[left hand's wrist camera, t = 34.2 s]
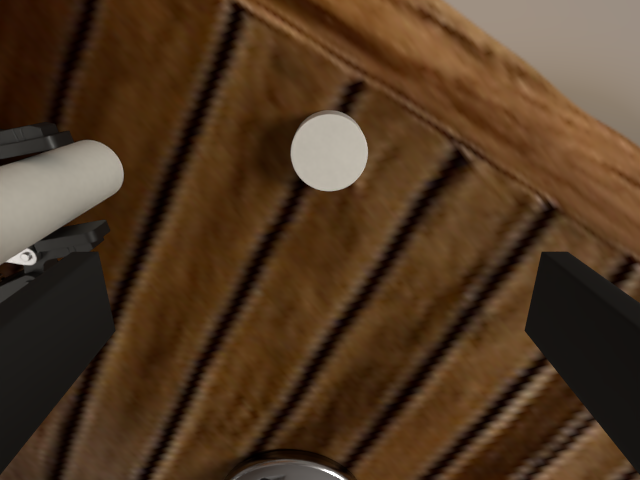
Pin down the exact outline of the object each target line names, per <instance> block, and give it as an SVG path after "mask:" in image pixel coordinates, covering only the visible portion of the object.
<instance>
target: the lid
mask: <svg viewBox="0 0 640 480" xmlns="http://www.w3.org/2000/svg"><path fill="white" fill-rule="evenodd" d="M367 156H368V148H367V143H366V140H365V137H364V135H363V133H362V131H361V129H360V127H359V126H358V124H357V123H356V122H355V121H354V120H353V119H352V118H351V117H349V116H348V115H346V114H344V113H342V112H338V111H333V110H325V111H320V112H317V113H314V114H312V115H311V116H309V117H308V118H306V119H305V120H304V121H303V122H302V123H301V125H300V126H299V128H298V129H297V131H296V134H295V136H294V139H293V141H292V145H291V161H292V164H293V167H294V169H295V171H296V173H297V175H298V176H299V177H300V178H301V179H302V180H303V181H304V182H305V183H306V184H307V185H309V186H311V187H313V188H315V189H318V190H322V191H336V190H340V189H343V188H345V187H347V186H349V185H351V184H352V183H353V182H354V181H356V180H357V179H358V177H359V176H360V175H361V173H362V172H363V170H364V168H365V165H366V162H367Z"/></svg>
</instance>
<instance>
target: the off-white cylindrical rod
mask: <svg viewBox="0 0 640 480" xmlns="http://www.w3.org/2000/svg"><path fill="white" fill-rule="evenodd" d="M123 178H124V173H123V167H122V164H121V162H120V160H119V158H118V157H117V155H116V154H115V153H114V152H113V151H112V150H111V149H110V148H109V147H107V146H106V145H104V144H102V143H100V142H97V141H92V140H82V141H78V142H75V143H72V144H69V145H66V146H63V147H60V148H57V149H53V150H50V151H47V152H44V153H41V154H38V155H35V156H32V157H29V158H25V159H22V160H19V161H16V162H13V163H10V164H7V165H4V166H0V265H1V264H2V263H4V262H6V261H7V260H9V259H10V258H12V257H14V256H15V255H17V254H19V253H20V252H22V251H23V250H25V249H27V248H28V247H30V246H31V245H33V244H35V243H36V242H38V241H39V240H41V239H43V238H44V237H46V236H47V235H49V234H51V233H52V232H54V231H55V230H57V229H59V228H60V227H62V226H63V225H65V224H67V223H68V222H70V221H72V220H73V219H75V218H76V217H78V216H80V215H81V214H83V213H84V212H86V211H88V210H89V209H91V208H92V207H94V206H96V205H97V204H99V203H100V202H102V201H104V200H105V199H107V198H108V197H110V196H112V195H113V194H115V193H116V192H117V191H118V190H119V189H120V187H121V185H122V182H123Z"/></svg>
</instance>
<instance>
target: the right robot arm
mask: <svg viewBox="0 0 640 480" xmlns="http://www.w3.org/2000/svg"><path fill="white" fill-rule="evenodd" d="M71 143H74V141H73V139H72V136H71V134H70V131H64V132H58V129H57V127H56V124H53V123H48V122H43V123H38V124H33V125H28V126H23V127H18V128H13V129H8V130H3V129H0V159H4V158H10V157H15V156H20V155H25V154H30V153H35V152H40V151H46V150H50V149H55V148H58V147H62V146H65V145H68V144H71ZM109 231H110V229H109V226H108V224H107V221H106V220H100V221H94V222H89V223H83V224H77V225H72V226H66V227H61V228H59V229H57V230H55V231H54V232H52V233H51V234H49V235H47V236H46V237H44V238H43V239H41V240H39V241H38V242H36V243H35V244H33V245H31V246H30V247H28V248H27V249H25V250H23V251H22V252H20V253H19V254H17V255H15V256H14V257H12V258H10V259H9V260H7V261H6V262H9V263H15V264H21V265H24V270H22V271H20V272H17V273H15V274H13V275H11V276H8V277H6V278H5V276H4V275H3V274H1V273H0V303H1V302H3V301H4V300H6V299H7V298H8V297H10V296H11V295H13V294H14V293H15V292H17V291H18V290H20V289H21V288H22V287H24V286H25V285H27V284H28V283H29V282H31V281H32V280H34V279H35V278H36V277H38V276H39V275H41V274H42V273H43V272H45V271H46V270H48V269H49V268H50V267H52V266H53V265H55V264H56V263H57V262H59V261H58V260H57V258H61V257H66V256H67V255H69V254H70V253H71V252H89V251H90V250H92V249H93V248H95V247H96V246H97V245H98V244H100V243H101V242H102V241H103V240H104V238H103V236H104V235H106V234H107V233H108V232H109Z"/></svg>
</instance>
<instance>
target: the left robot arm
mask: <svg viewBox="0 0 640 480" xmlns="http://www.w3.org/2000/svg"><path fill="white" fill-rule="evenodd" d="M114 332H115V327H114V322H113V317H112V313H111V308H110V304H109V299H108V294H107V290H106V285H105V281H104V276H103V271H102V267H101V262H100V258H99V253H98V252H71V253H70V254H69V255H67V256H66V257H64V258H63V259H62V260H60V261H59V262H57V263H56V264H55V265H53V266H52V267H50V268H49V269H48V270H46V271H45V272H43V273H42V274H41V275H39V276H38V277H36V278H35V279H34V280H32V281H31V282H29V283H28V284H27V285H25V286H24V287H22V288H21V289H20V290H18V291H17V292H15V293H14V294H13V295H11V296H10V297H8V298H7V299H6V300H4V301H3V302H1V303H0V474H1V473H2V472H3V471H4V469H5V468H6V467H7V466H8V464H9V463H10V462H11V461H12V459H13V458H14V457H15V456H16V454H17V453H18V452H19V451H20V449H21V448H22V447H23V446H24V444H25V443H26V442H27V441H28V439H29V438H30V437H31V436H32V434H33V433H34V432H35V431H36V429H37V428H38V427H39V426H40V424H41V423H42V422H43V421H44V419H45V418H46V417H47V416H48V414H49V413H50V412H51V411H52V409H53V408H54V407H55V406H56V404H57V403H58V402H59V401H60V399H61V398H62V397H63V396H64V394H65V393H66V392H67V391H68V389H69V388H70V387H71V386H72V384H73V383H74V382H75V381H76V379H77V378H78V377H79V376H80V374H81V373H82V372H83V371H84V369H85V368H86V367H87V366H88V364H89V363H90V362H91V361H92V359H93V358H94V357H95V356H96V354H97V353H98V352H99V351H100V349H101V348H102V347H103V346H104V344H105V343H106V342H107V341H108V339H109V338H110V337H111V336H112V334H113V333H114ZM525 332H526V333H527V334H528V336H529V337H530V338H531V339H532V341H533V342H534V343H535V344H536V346H537V347H538V348H539V349H540V351H541V352H542V353H543V354H544V356H545V357H546V358H547V359H548V361H549V362H550V363H551V364H552V366H553V367H554V368H555V369H556V371H557V372H558V373H559V374H560V376H561V377H562V378H563V379H564V381H565V382H566V383H567V384H568V386H569V387H570V388H571V389H572V391H573V392H574V393H575V394H576V396H577V397H578V398H579V399H580V401H581V402H582V403H583V404H584V406H585V407H586V408H587V409H588V411H589V412H590V413H591V414H592V416H593V417H594V418H595V419H596V421H597V422H598V423H599V424H600V426H601V427H602V428H603V429H604V431H605V432H606V433H607V434H608V436H609V437H610V438H611V439H612V441H613V442H614V443H615V444H616V446H617V447H618V448H619V449H620V451H621V452H622V453H623V454H624V456H625V457H626V458H627V459H628V461H629V462H630V463H631V464H632V466H633V467H634V468H635V469H636V471H637V472H638V473H639V474H640V303H639V302H637V301H636V300H634V299H633V298H632V297H630V296H629V295H627V294H626V293H625V292H623V291H622V290H620V289H619V288H618V287H616V286H615V285H613V284H612V283H611V282H609V281H608V280H606V279H605V278H604V277H602V276H601V275H599V274H598V273H597V272H595V271H594V270H592V269H591V268H590V267H588V266H587V265H585V264H584V263H583V262H581V261H580V260H578V259H577V258H576V257H574V256H573V255H571V254H570V253H569V252H542V253H541V258H540V262H539V267H538V271H537V276H536V281H535V285H534V290H533V294H532V299H531V304H530V308H529V313H528V317H527V322H526V327H525ZM225 480H357V479H356V478H355V477H354V476H353V474H352V473H351V472H350V471H348V470H347V469H346V468H345V467H343V466H342V465H340V464H339V463H337V462H335V461H333V460H331V459H329V458H327V457H324V456H321V455H318V454H314V453H310V452H304V451H290V450H285V451H274V452H268V453H264V454H260V455H257V456H254V457H252V458H249V459H247V460H245V461H244V462H242V463H240V464H239V465H238V466H236V467H235V468H234V469H233V470H232V471H231V472H230V473H229V474H228V475H227V477H226V478H225Z"/></svg>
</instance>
